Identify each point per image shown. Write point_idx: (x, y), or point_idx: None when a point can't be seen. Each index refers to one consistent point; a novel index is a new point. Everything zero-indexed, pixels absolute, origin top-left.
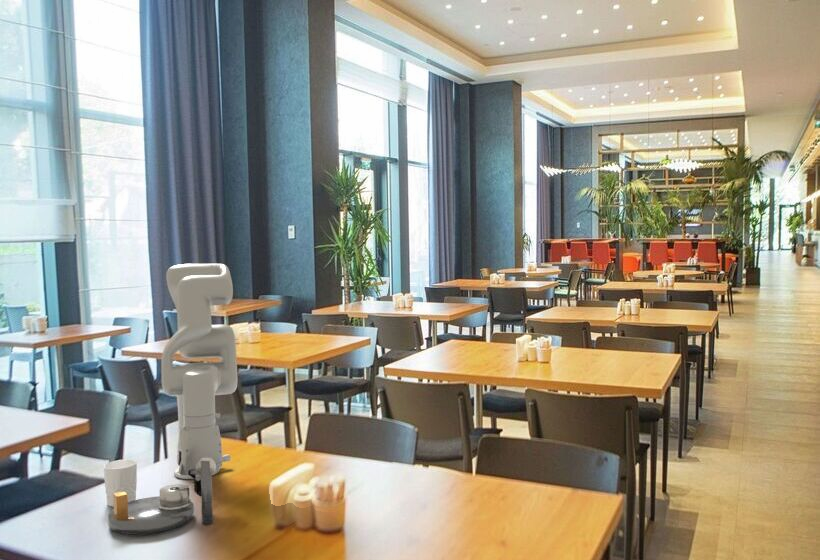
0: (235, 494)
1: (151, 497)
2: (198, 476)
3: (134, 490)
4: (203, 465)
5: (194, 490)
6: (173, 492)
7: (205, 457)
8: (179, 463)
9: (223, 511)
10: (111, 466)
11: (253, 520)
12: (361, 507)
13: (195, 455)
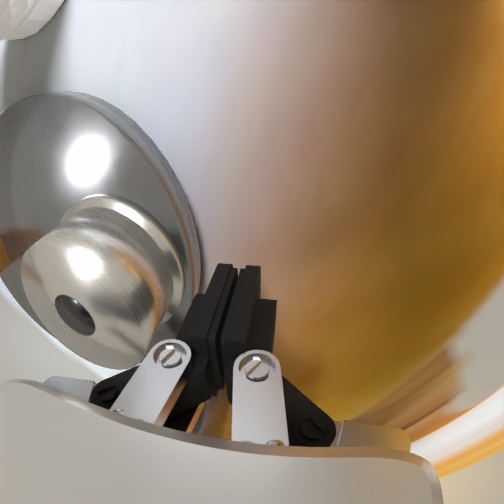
0: (464, 175)
1: (48, 101)
2: (184, 414)
3: (26, 2)
4: None
5: (196, 295)
6: (77, 349)
7: None
8: (2, 385)
9: (315, 311)
10: None
11: (333, 396)
12: (479, 412)
13: None
